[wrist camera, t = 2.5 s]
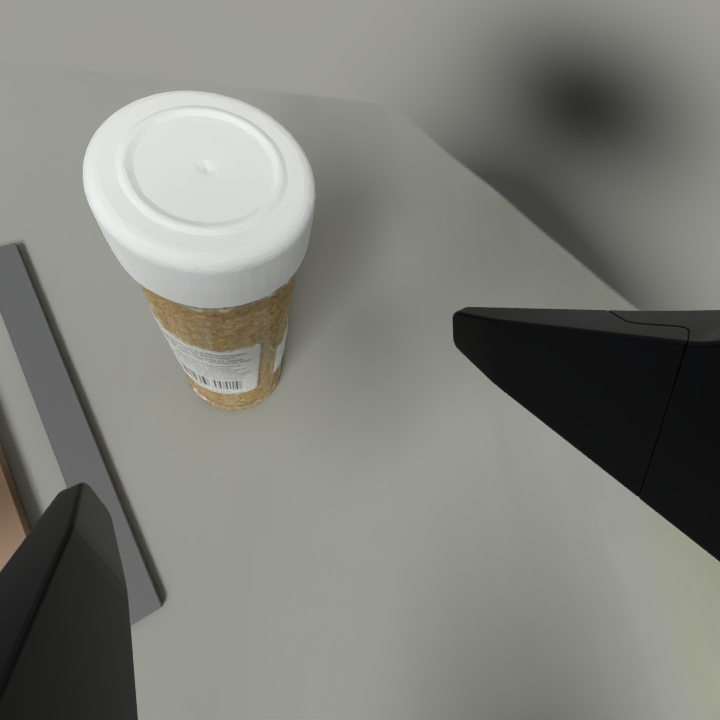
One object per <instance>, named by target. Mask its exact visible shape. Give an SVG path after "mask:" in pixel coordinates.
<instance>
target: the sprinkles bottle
mask: <svg viewBox="0 0 720 720" xmlns="http://www.w3.org/2000/svg"><path fill="white" fill-rule="evenodd" d="M83 183H84V190H85V194H86V197H87V200H88V203H89V205H90V208H91V210H92V212H93V214H94V216H95V218H96V220H97V222H98V224H99V226H100V228H101V230H102V232H103V234H104V236H105V238H106V240H107V242H108V244H109V245H110V247H111V249H112V251H113V252H114V254H115V256H116V257H117V259H118V260H119V262H120V263H121V265H122V266H123V267H124V269H125V270H126V271H127V272H128V273H129V274H130V275H131V276H132V277H133V278H134V279H135V280H136V281H137V282H138V283H140V285H141V286H142V289H143V291H144V293H145V294H146V297H147V299H148V302H149V305H150V308H151V311H152V313H153V315H154V317H155V319H156V321H157V323H158V324H159V326H160V328H161V330H162V332H163V334H164V335H165V337H166V339H167V341H168V343H169V345H170V346H171V348H172V350H173V352H174V354H175V355H176V357H177V359H178V361H179V363H180V364H181V366H182V368H183V369H184V371H185V372H186V373H187V377H188V380H189V383H190V386H191V387H192V389H193V390H194V392H195V393H196V394H197V395H198V396H199V397H200V398H201V399H203V400H204V401H205V402H206V403H208V404H210V405H213V406H215V407H217V408H220V409H227V410H240V409H245V408H248V407H253V406H254V405H256V404H258V403H260V402H261V401H263V400H265V399H266V398H267V397H268V396H269V395H270V394H271V392H272V391H273V390H274V388H275V387H276V385H277V382H278V379H279V376H280V373H281V359H282V356H283V352H284V347H285V342H286V336H287V330H288V314H289V309H290V302H291V297H292V291H293V287H294V277H295V272H296V271H297V270H298V268H299V267H300V265H301V263H302V261H303V259H304V257H305V254H306V251H307V247H308V243H309V238H310V233H311V228H312V222H313V215H314V209H315V201H316V189H315V181H314V176H313V172H312V169H311V165H310V163H309V161H308V158H307V156H306V154H305V153H304V151H303V149H302V148H301V146H300V145H299V143H298V142H297V141H296V139H295V138H294V137H293V136H292V135H291V133H290V132H289V131H288V130H287V129H286V128H285V127H284V126H282V125H281V124H280V123H279V122H277V121H276V120H275V119H273V118H272V117H271V116H269V115H268V114H266V113H265V112H263V111H261V110H259V109H258V108H256V107H254V106H252V105H250V104H248V103H245V102H243V101H240V100H237V99H235V98H231V97H228V96H224V95H220V94H216V93H209V92H201V91H173V92H165V93H159V94H155V95H151V96H147V97H144V98H141V99H138V100H136V101H134V102H132V103H130V104H128V105H126V106H124V107H123V108H121V109H120V110H118V111H117V112H115V113H114V114H112V115H111V116H110V117H109V118H108V119H107V120H106V121H105V122H104V123H103V124H102V125H101V126H100V127H99V128H98V130H97V131H96V133H95V134H94V136H93V137H92V139H91V141H90V143H89V145H88V148H87V150H86V153H85V159H84V162H83Z"/></svg>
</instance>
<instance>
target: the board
mask: <svg viewBox="0 0 720 720" xmlns="http://www.w3.org/2000/svg"><path fill="white" fill-rule="evenodd" d="M30 531H31V527H30V524H29V521H28V519H27V516H26V513H25V510H24V507H23V505H22V502H21V499H20V496H19V493H18V491H17V488H16V485H15V482H14V479H13V477H12V474H11V471H10V468H9V465H8V463H7V460H6V457H5V454H4V451H3V449H2V446H1V443H0V571H1V570H2V569H3V567H4V566H5V565H6V563H7V562H8V561H9V559H10V558H11V556H12V555H13V554H14V552H15V551H16V550H17V548H18V547H19V546H20V544H21V543H22V542H23V540H24V539H25V538H26V536H27V535H28V534H29V532H30Z"/></svg>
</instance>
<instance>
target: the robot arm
mask: <svg viewBox="0 0 720 720" xmlns="http://www.w3.org/2000/svg"><path fill="white" fill-rule="evenodd" d="M453 339H454V343H455V345H456V347H457V348H458V349H459V350H460V351H461V352H462V353H463V354H464V355H465V356H466V357H467V358H468V359H469V360H470V361H471V362H472V363H473V364H474V365H475V366H476V367H477V368H478V369H479V370H480V371H481V372H482V373H484V374H485V375H486V376H487V377H488V378H489V379H490V380H491V381H492V382H493V383H494V384H495V385H497V386H498V387H499V388H500V389H502V390H503V391H504V392H505V393H507V394H508V395H509V396H510V397H512V398H513V399H514V400H516V401H517V402H518V403H519V404H521V405H522V406H523V407H524V408H526V409H527V410H528V411H530V412H531V413H532V414H533V415H535V416H536V417H537V418H538V419H540V420H541V421H542V422H543V423H545V424H546V425H547V426H549V427H550V428H551V429H552V430H554V431H555V432H556V433H557V434H559V435H560V436H561V437H563V438H564V439H565V440H566V441H568V442H569V443H570V444H571V445H573V446H574V447H575V448H577V449H578V450H579V451H580V452H582V453H583V454H584V455H585V456H587V457H588V458H589V459H591V460H592V461H593V462H594V463H596V464H597V465H598V466H599V467H601V468H602V469H603V470H604V471H606V472H607V473H608V474H610V475H611V476H612V477H613V478H615V479H616V480H617V481H618V482H620V483H621V484H622V485H624V486H625V487H626V488H627V489H629V490H630V491H631V492H632V493H634V494H635V495H636V496H639V498H640V499H641V500H642V501H643V502H645V503H646V504H647V505H649V506H650V507H651V508H652V509H654V510H655V511H656V512H657V513H659V514H660V515H661V516H662V517H664V518H665V519H666V520H668V521H669V522H670V523H671V524H673V525H674V526H675V527H676V528H678V529H679V530H680V531H682V532H683V533H684V534H685V535H687V536H688V537H689V538H690V539H692V540H693V541H694V542H695V543H697V544H698V545H699V546H701V547H702V548H703V549H704V550H706V551H707V552H708V553H709V554H711V555H712V556H713V557H715V558H716V559H717V560H718V561H720V310H704V311H615V310H610V311H606V310H571V309H529V308H487V307H466V308H463V309H461V310H459V311H457V312H455V313H454V315H453ZM0 720H138V715H137V702H136V689H135V677H134V664H133V651H132V638H131V626H130V613H129V600H128V591H127V585H126V580H125V575H124V570H123V566H122V562H121V557H120V553H119V548H118V544H117V539H116V535H115V530H114V526H113V521H112V518H111V515H110V513H109V511H108V509H107V508H106V506H105V505H104V504H103V503H102V501H101V500H100V499H99V497H98V496H97V495H96V493H95V492H94V491H93V489H92V488H91V487H90V486H89V485H88V484H87V483H84V482H81V483H78V484H76V485H74V486H72V487H69V488H67V489H65V490H63V491H61V492H60V493H59V494H58V495H57V496H56V497H55V499H54V500H53V501H52V503H51V504H50V505H49V507H48V508H47V509H46V511H45V512H44V514H43V515H42V516H41V518H40V519H39V520H38V522H37V523H36V524H35V526H34V527H33V528H32V530H31V531H30V532H29V534H28V535H27V536H26V538H25V539H24V540H23V542H22V543H21V544H20V546H19V547H18V548H17V550H16V551H15V552H14V554H13V555H12V556H11V558H10V559H9V561H8V562H7V563H6V565H5V566H4V567H3V569H2V570H1V571H0Z"/></svg>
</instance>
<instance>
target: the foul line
mask: <svg viewBox="0 0 720 720" xmlns="http://www.w3.org/2000/svg"><path fill="white" fill-rule="evenodd" d="M0 312H1V315H2V317H3V320H4V323H5V325H6V328H7V330H8V333H9V336H10V338H11V341H12V344H13V346H14V349H15V351H16V354H17V357H18V359H19V362H20V365H21V367H22V370H23V372H24V375H25V378H26V380H27V383H28V386H29V388H30V391H31V393H32V396H33V399H34V401H35V404H36V407H37V409H38V412H39V414H40V417H41V420H42V422H43V425H44V428H45V430H46V433H47V435H48V438H49V441H50V443H51V446H52V449H53V451H54V454H55V456H56V459H57V462H58V464H59V467H60V470H61V472H62V475H63V477H64V480H65V483H66V485H67V488H69V487H72V486H74V485H76V484H78V483H81V482H84V483H87V484H88V485H89V486H90V487H91V488H92V489H93V491H94V492H95V493H96V495H97V496H98V497H99V499H100V500H101V501H102V503H103V504H104V505H105V506H106V508H107V509H108V511H109V513H110V515H111V518H112V521H113V526H114V530H115V535H116V539H117V544H118V548H119V553H120V557H121V562H122V566H123V570H124V575H125V580H126V585H127V591H128V600H129V613H130V626H131V625H132V624H134V623H136V622H137V621H139V620H141V619H142V618H144V617H146V616H147V615H149V614H151V613H152V612H154V611H156V610H157V609H159V608H161V607H162V606H163V605H162V602H161V600H160V597H159V595H158V592H157V590H156V587H155V585H154V582H153V580H152V577H151V575H150V572H149V570H148V567H147V565H146V562H145V560H144V557H143V555H142V552H141V550H140V548H139V545H138V543H137V540H136V538H135V535H134V533H133V530H132V528H131V525H130V523H129V520H128V518H127V515H126V513H125V510H124V508H123V505H122V503H121V500H120V498H119V495H118V493H117V490H116V488H115V486H114V483H113V481H112V478H111V476H110V473H109V471H108V468H107V466H106V463H105V461H104V458H103V456H102V453H101V451H100V448H99V446H98V443H97V441H96V438H95V436H94V433H93V431H92V428H91V426H90V424H89V421H88V419H87V416H86V414H85V411H84V409H83V406H82V404H81V401H80V399H79V396H78V394H77V391H76V389H75V386H74V384H73V381H72V379H71V376H70V374H69V371H68V369H67V367H66V364H65V362H64V359H63V357H62V354H61V352H60V349H59V347H58V344H57V342H56V339H55V337H54V334H53V332H52V329H51V327H50V324H49V322H48V319H47V317H46V314H45V312H44V309H43V307H42V305H41V302H40V300H39V297H38V295H37V292H36V290H35V287H34V285H33V282H32V280H31V277H30V275H29V272H28V270H27V267H26V265H25V262H24V260H23V257H22V255H21V252H20V250H19V248H18V246H17V245H16V244H15V243H14V244H10V245H6V246H2V247H0Z"/></svg>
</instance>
